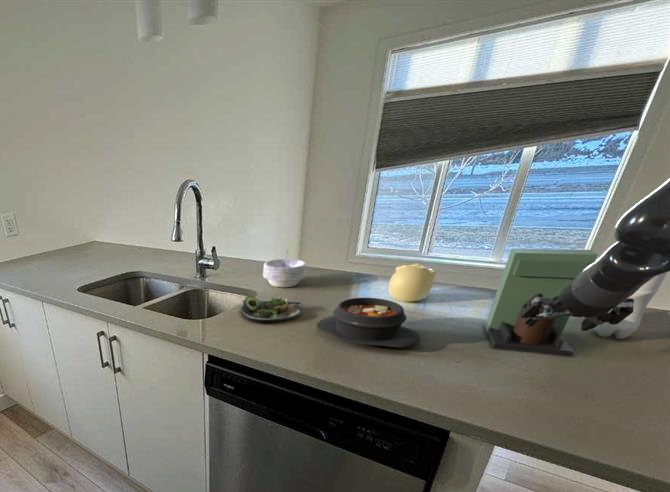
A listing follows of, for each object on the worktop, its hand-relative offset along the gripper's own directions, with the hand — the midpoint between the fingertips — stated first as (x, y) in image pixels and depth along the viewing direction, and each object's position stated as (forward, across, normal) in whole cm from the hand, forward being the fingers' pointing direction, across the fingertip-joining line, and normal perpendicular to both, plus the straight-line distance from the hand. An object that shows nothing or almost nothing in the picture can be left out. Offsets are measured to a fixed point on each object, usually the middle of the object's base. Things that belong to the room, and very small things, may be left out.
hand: (555, 324), depth 83 cm
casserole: (+10, +35, +3) cm, 36 cm away
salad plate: (+18, +63, -4) cm, 66 cm away
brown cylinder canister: (+14, 0, -2) cm, 14 cm away
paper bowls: (+40, +65, -26) cm, 81 cm away
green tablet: (+16, 0, -3) cm, 16 cm away
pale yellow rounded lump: (+34, +25, -21) cm, 47 cm away
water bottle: (+22, -18, -9) cm, 30 cm away
